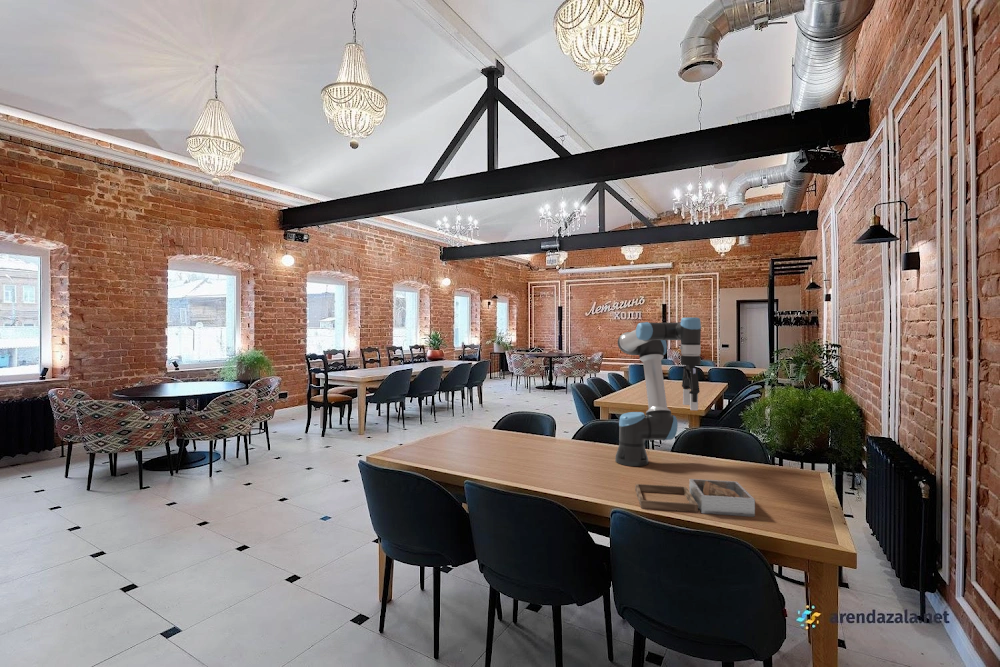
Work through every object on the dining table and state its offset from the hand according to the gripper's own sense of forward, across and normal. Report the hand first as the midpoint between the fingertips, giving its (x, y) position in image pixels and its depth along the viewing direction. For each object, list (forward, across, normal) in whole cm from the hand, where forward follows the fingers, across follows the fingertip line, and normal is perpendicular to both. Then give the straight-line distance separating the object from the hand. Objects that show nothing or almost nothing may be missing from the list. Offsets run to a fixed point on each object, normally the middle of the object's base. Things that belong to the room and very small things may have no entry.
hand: (690, 407), depth 191 cm
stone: (+31, +21, +7) cm, 38 cm away
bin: (+32, +21, +6) cm, 38 cm away
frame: (+32, +20, -13) cm, 40 cm away
